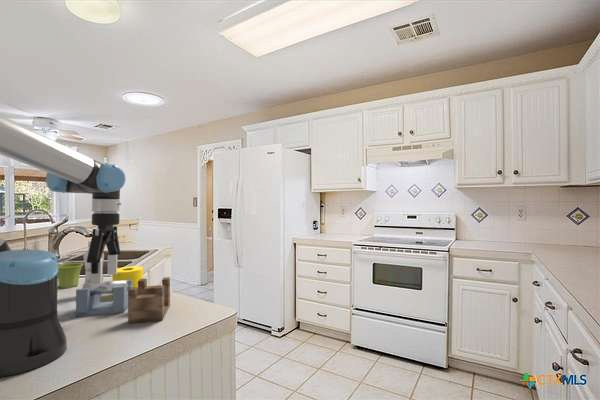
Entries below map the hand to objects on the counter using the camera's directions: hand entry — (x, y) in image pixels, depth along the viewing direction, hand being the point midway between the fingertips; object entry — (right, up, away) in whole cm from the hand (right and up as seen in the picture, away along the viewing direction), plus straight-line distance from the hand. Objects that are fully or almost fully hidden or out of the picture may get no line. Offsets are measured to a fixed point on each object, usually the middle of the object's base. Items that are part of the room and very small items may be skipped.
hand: (104, 278), depth 97 cm
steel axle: (0, -5, 0) cm, 5 cm away
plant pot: (-32, -10, +27) cm, 44 cm away
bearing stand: (+17, -10, -4) cm, 20 cm away
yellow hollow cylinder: (-2, -10, +16) cm, 19 cm away
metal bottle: (-14, -10, +15) cm, 23 cm away
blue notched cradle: (0, -10, 0) cm, 10 cm away
